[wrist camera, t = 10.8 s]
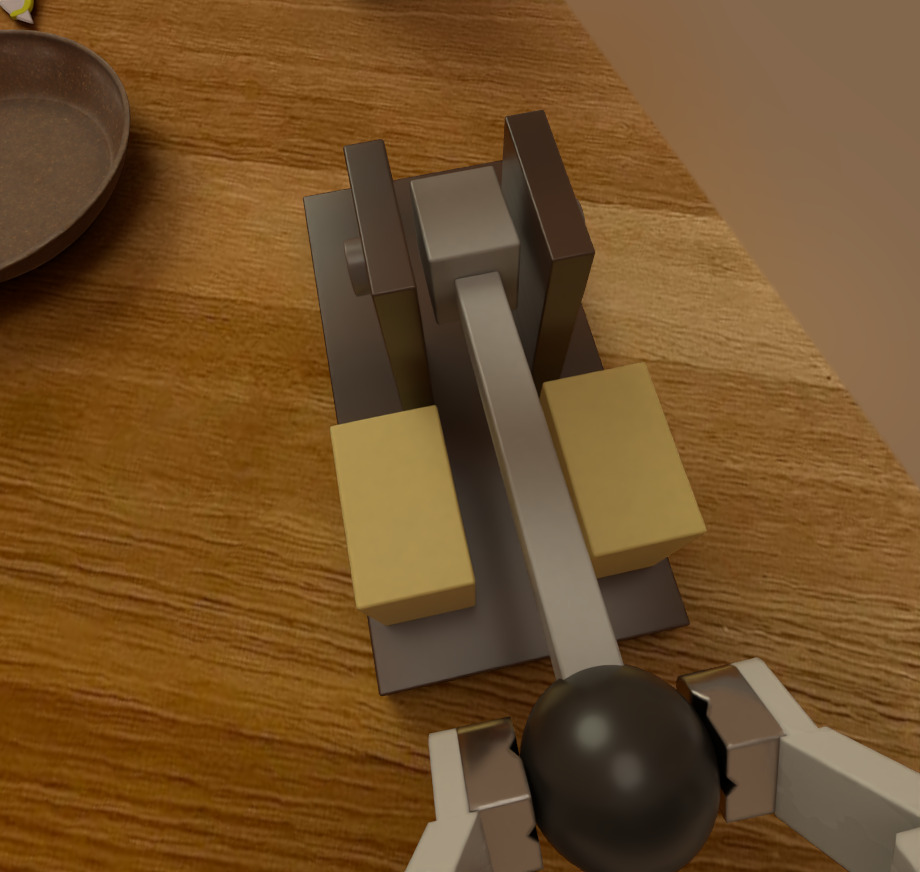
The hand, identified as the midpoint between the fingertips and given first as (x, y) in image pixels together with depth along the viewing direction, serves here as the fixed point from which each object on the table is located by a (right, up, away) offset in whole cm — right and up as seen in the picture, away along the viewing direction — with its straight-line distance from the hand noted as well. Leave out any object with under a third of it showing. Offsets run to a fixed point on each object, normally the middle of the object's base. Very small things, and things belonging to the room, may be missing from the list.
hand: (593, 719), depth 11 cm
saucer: (-24, +16, +18) cm, 34 cm away
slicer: (-2, +7, +13) cm, 15 cm away
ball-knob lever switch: (-1, +4, +3) cm, 5 cm away
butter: (-1, +2, +10) cm, 10 cm away
